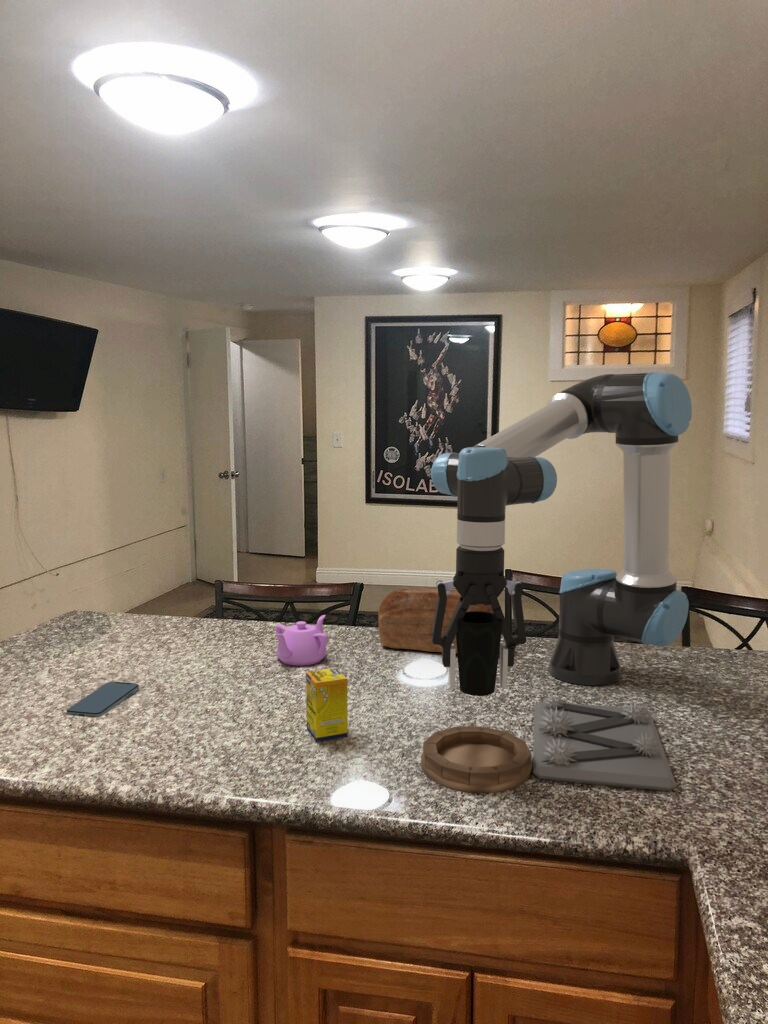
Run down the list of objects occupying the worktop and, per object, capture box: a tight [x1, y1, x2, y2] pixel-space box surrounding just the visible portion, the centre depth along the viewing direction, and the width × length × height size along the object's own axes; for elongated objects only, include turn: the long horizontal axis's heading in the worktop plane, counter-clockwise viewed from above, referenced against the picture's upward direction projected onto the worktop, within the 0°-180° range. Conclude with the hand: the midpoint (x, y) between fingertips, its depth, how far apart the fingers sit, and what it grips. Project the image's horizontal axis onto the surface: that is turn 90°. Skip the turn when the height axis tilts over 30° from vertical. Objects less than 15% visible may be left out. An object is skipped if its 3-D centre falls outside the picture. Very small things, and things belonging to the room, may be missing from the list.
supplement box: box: [305, 667, 349, 743], centre depth 138 cm, size 6×6×11 cm
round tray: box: [420, 726, 533, 794], centre depth 126 cm, size 18×18×3 cm
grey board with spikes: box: [532, 691, 677, 792], centre depth 133 cm, size 30×22×7 cm
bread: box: [377, 587, 494, 654], centre depth 187 cm, size 12×28×14 cm, turn 74°
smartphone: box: [66, 681, 140, 718], centre depth 153 cm, size 8×2×15 cm
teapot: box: [274, 614, 329, 667], centre depth 178 cm, size 12×14×9 cm
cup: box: [456, 611, 503, 697], centre depth 124 cm, size 8×8×12 cm
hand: (477, 685), depth 125 cm, fingers closed on cup, 8 cm apart
